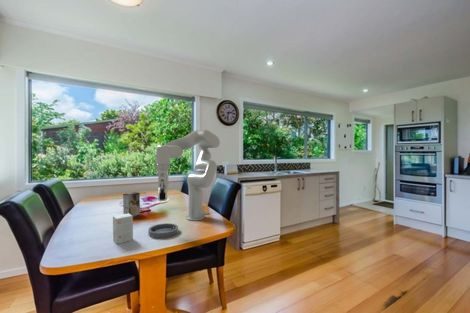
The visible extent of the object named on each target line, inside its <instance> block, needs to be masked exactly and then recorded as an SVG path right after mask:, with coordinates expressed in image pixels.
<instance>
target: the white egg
mask: <svg viewBox="0 0 470 313" xmlns="http://www.w3.org/2000/svg"><path fill="white" fill-rule="evenodd" d="M157 190H158V191H157V200H158V201H159V202H164V201H167V200H168V187H165V192H166V193H165V200H160V199H159V193H160V187H158V188H157Z"/></svg>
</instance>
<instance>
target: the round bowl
mask: <svg viewBox="0 0 470 313" xmlns="http://www.w3.org/2000/svg"><path fill="white" fill-rule="evenodd" d="M147 231H148V232H147V233H148V237H150V238H152V239H161V240H162V239H168V238H172V237H174V236H176V235H178V233H179V226H178V225H177V224H175V223H169V222H168V223H159V224H155V225H151V227H148V230H147Z"/></svg>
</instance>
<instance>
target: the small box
mask: <svg viewBox="0 0 470 313" xmlns="http://www.w3.org/2000/svg"><path fill="white" fill-rule="evenodd" d="M133 218H134V216H132V215H131V214H129V213H128V214H123V213H122V214H117V215H112V235H113V236H112V240H113V242H114V243H115V244H116V245H117V244H121V243H126V242H130V241H133V240H134V225H133V224H134V223H133V221H134V219H133Z"/></svg>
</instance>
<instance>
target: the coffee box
mask: <svg viewBox="0 0 470 313" xmlns="http://www.w3.org/2000/svg"><path fill="white" fill-rule="evenodd" d="M140 194H141V193H140V192H136V191H132V192H128V193H122V202H123V207H122V210H123V213H122V214H128V213H129V214H131V215H132V216H133V217H135V216H140V214H141V200H140V199H141V198H140V196H141V195H140Z"/></svg>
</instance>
